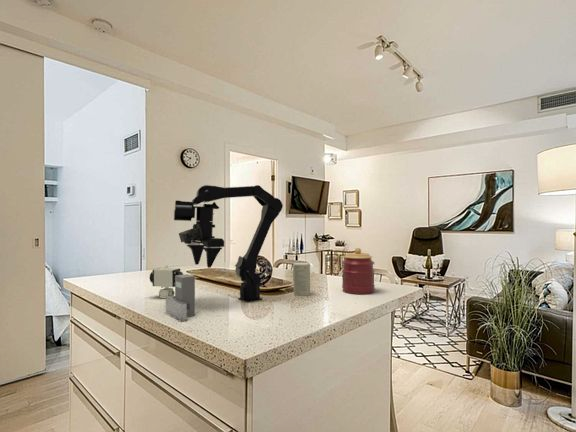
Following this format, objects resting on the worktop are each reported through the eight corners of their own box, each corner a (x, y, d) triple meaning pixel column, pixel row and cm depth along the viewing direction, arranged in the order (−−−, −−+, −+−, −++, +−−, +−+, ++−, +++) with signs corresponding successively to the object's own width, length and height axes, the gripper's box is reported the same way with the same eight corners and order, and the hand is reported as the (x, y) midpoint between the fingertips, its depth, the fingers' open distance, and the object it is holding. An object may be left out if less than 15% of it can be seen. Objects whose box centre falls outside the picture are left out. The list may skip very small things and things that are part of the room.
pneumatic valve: (177, 299, 122) (177, 267, 122) (149, 298, 124) (149, 266, 124) (185, 296, 127) (184, 265, 128) (157, 295, 130) (157, 264, 130)
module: (187, 311, 106) (187, 274, 106) (195, 315, 102) (194, 276, 102) (175, 314, 103) (175, 275, 103) (182, 317, 99) (182, 277, 99)
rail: (174, 310, 107) (174, 295, 107) (190, 319, 97) (190, 302, 97) (165, 312, 105) (165, 296, 105) (181, 321, 95) (181, 304, 95)
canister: (341, 294, 129) (340, 249, 130) (343, 287, 142) (342, 246, 142) (375, 295, 127) (374, 249, 127) (374, 288, 139) (373, 246, 140)
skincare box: (310, 293, 131) (310, 262, 131) (309, 295, 127) (308, 264, 127) (294, 292, 132) (294, 262, 132) (292, 295, 128) (292, 263, 128)
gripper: (171, 220, 117) (169, 264, 117) (195, 221, 103) (193, 271, 103) (200, 221, 125) (198, 262, 124) (226, 222, 111) (224, 268, 110)
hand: (202, 266), depth 115 cm, fingers open, 9 cm apart
